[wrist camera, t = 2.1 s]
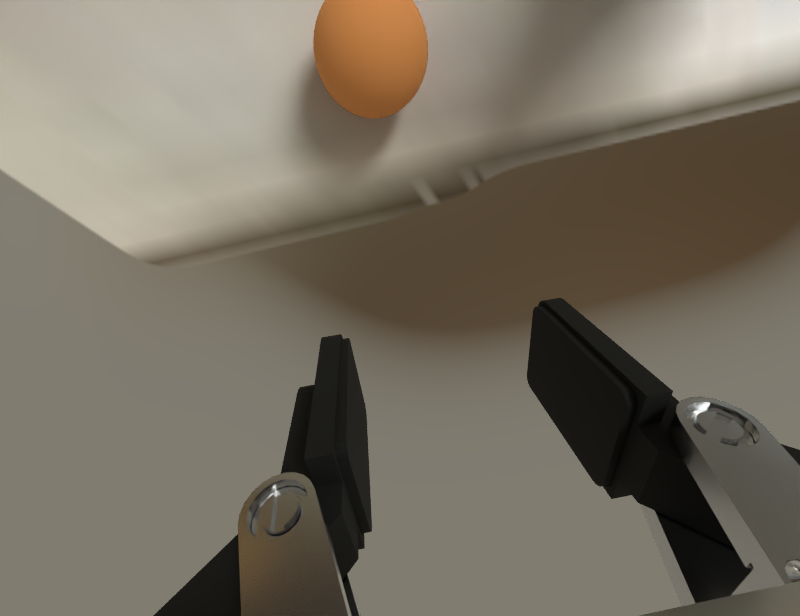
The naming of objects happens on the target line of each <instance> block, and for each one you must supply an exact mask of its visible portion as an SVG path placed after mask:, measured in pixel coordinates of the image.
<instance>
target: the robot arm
mask: <svg viewBox="0 0 800 616" xmlns="http://www.w3.org/2000/svg"><path fill="white" fill-rule="evenodd" d="M527 380H528V383H529V386H530V388H531V389H532V391H533V392H534V393H535V395H536V396H537V398H538V400H539V401H540V402H541V404H542V406H543V407H544V408H545V410H546V411H547V413H548V414H549V416H550V417H551V419H552V420H553V422H554V423H555V425H556V426H557V428H558V429H559V431H560V432H561V434H562V435H563V437H564V438H565V440H566V441H567V443H568V444H569V446H570V447H571V449H572V450H573V451H574V453H575V455H576V456H577V458H578V459H579V461H580V462H581V464H582V465H583V467H584V468H585V469H586V471H587V472H588V474H589V475H590V477H591V478H592V480H593V481H594V482H595V483H596V484H597V485H598V486H603V487H604V489H605V490H606V491H607V493H608V494H609V496H610V497H611V499H613V498H618V497H623V496H628V495H633V497H634V498H635V499H636V501H637V502H638V503H640V504H641V507H642V510H643V512H644V515H645V517H646V520H647V522H648V525H649V527H650V530H651V532H652V535H653V537H654V539H655V542H656V544H657V546H658V549H659V551H660V554H661V556H662V559H663V561H664V564H665V566H666V568H667V571H668V574H669V576H670V578H671V581H672V583H673V586H674V588H675V591H676V593H677V595H678V598H679V600H680V603H681V605H682V607H677V608H673V609H668V610H664V611H659V612H654V613H650V614H645V615H640V616H800V450H798V449H795V448H791V447H788V446H785V445H782V444H780V443H779V442H778V441H777V440H776V439H775V437H774V436H773V435H772V434H771V433H770V432H769V431H768V430H767V429H766V427H765V426H764V425H763V424H761V423H760V422H759V421H758V420H757V419H756V418H755V417H753V416H752V415H750V414H749V413H747V412H746V411H744V410H742V409H741V408H738V407H736V406H734V405H732V404H729V403H727V402H724V401H720V400H717V399H713V398H705V397H690V398H687V399H684V400H681V402H679V401H678V400H676V399H675V398H674V397H673V396H672V392H673V391H672V390H671V389H670V388H669V387H667V386H666V385H665V384H664V383H663V382H661V381H660V380H659V379H658V378H657V377H655V376H654V375H653V374H652V373H651V372H649V371H648V370H647V369H646V368H645V367H644V366H642V365H641V364H640V363H639V362H637V361H636V360H635V359H634V358H633V357H631V356H630V355H629V354H628V353H627V352H626V351H624V350H623V349H622V348H621V347H619V346H618V345H617V344H616V343H615V342H614V341H612V340H611V339H610V338H609V337H608V336H607V335H605V334H604V333H603V332H602V331H601V330H599V329H598V328H597V327H596V326H595V325H593V324H592V323H591V322H590V321H589V320H587V319H586V318H585V317H584V316H583V315H581V314H580V313H579V312H578V311H577V310H575V309H574V308H573V307H572V306H571V305H570V304H568V303H567V302H566V301H565V300H564V299H562V298H557V299H550V300H544V301H541V302H540V303H539V305H538V307H535V308H534V310H533V318H532V328H531V339H530V350H529V360H528V370H527ZM368 458H369V457H368V437H367V418H366V409H365V403H364V398H363V394H362V390H361V386H360V382H359V377H358V373H357V369H356V364H355V360H354V356H353V351H352V347H351V343H350V339H349V338H346V339H343V338H342V335H335V336H328V337H323V338H322V339H321V344H320V352H319V358H318V366H317V372H316V379H315V385H311V386H305V387H300V388H299V390H298V393H297V397H296V402H295V407H294V412H293V417H292V422H291V427H290V431H289V436H288V441H287V446H286V451H285V456H284V461H283V466H282V472H281V474H279V475H276V476H273V477H271V478H270V479H268V480H266V481H265V482H263V483H262V484H261V485H259V486H258V487H257V488H256V489H255V490H254V491H253V492H252V493H251V495H250V496H249V497H248V499H247V500H246V501H245V503H244V505H243V508H242V510H241V512H240V515H239V522H238V535H237V536H235V537H234V538H233V539H232V540H231V541H230V542H229V543H228V544H227V545H226V546H225V547H224V548H223V549H222V550H221V551H220V552H219V553H218V554H217V555H216V556H215V557H214V558H213V559H212V560H211V561H210V562H209V563H208V564H207V565H206V566H205V567H204V568H202V569H201V570H200V571H199V572H198V573H197V574H196V575H195V576H194V577H193V578H192V579H191V580H190V581H189V582H188V583H187V584H186V585H185V586H184V587H183V588H182V589H181V590H180V591H179V592H178V593H177V594H176V595H175V596H173V597H172V598H171V599H170V600H169V601H168V602H167V603H166V604H165V605H164V606H163V607H162V608H161V609H160V610H159V611H158V612H157V613H156V614H155V615H154V616H361V614H360V611H359V608H358V604H357V601H356V597H355V594H354V590H353V587H352V583H351V580H350V576H349V573H348V572H349V571H350V569H351V568H352V567H353V565H354V564H355V563H356V561H357V560H358V549H363V548H364V533H366V532H371V531H372V522H371V521H372V520H371V499H370V478H369V459H368Z"/></svg>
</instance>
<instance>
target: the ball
mask: <svg viewBox="0 0 800 616" xmlns="http://www.w3.org/2000/svg"><path fill="white" fill-rule="evenodd" d="M314 55H315V61H316V65H317V69H318V72H319V75H320V78H321V80H322V82H323V84H324V86H325V88H326V89H327V91H328V92H329V94H330V95H331V96H332V97H333V99H334V100H335V101H336V102H337V103H338V104H339V105H340V106H342V107H343V108H344V109H346V110H347V111H349V112H351V113H353V114H355V115H357V116H360V117H364V118H372V119H374V118H383V117H387V116H390V115H392V114H394V113H396V112H398V111H399V110H401V109H402V108H403V107H405V106H406V105H407V104H408V103H409V102H410V101H411V99H412V98H413V97H414V96H415V94H416V92H417V91H418V89H419V87H420V85H421V83H422V81H423V77H424V74H425V70H426V66H427V57H428V43H427V35H426V30H425V26H424V23H423V20H422V17H421V15H420V12H419V10H418V8H417V7H416V5H415V3H414V2H413V0H325V1H324V3H323V5H322V7H321V9H320V11H319V14H318V17H317V20H316V24H315V30H314Z"/></svg>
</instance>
